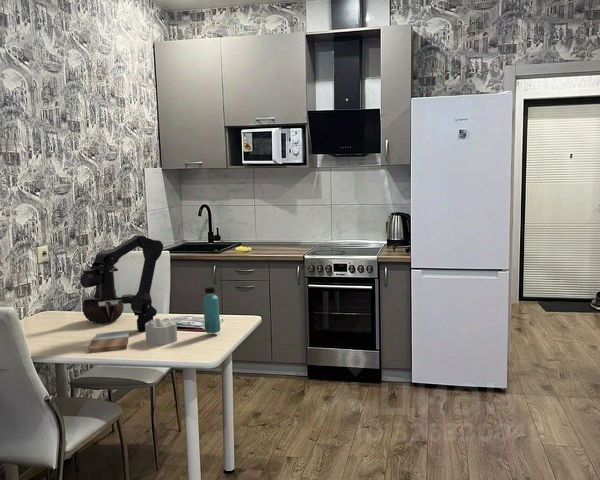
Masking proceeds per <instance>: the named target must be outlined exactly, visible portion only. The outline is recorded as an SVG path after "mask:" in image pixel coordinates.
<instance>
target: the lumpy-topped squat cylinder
mask: <svg viewBox="0 0 600 480" xmlns="http://www.w3.org/2000/svg"><path fill="white" fill-rule="evenodd" d="M177 329H178V327H177V322H176V321H172V320H171V319H170V318H169V317H165V318H163V319H161V318H159V317H158V318H155V319H153V320H150V321H149V322H147V323H146V324H145V330H146V331H145V341H146V344H149V345H152V346H159V347H160V346H167V345H169V344H172V343H176V342H178V333H177V332H178V330H177Z"/></svg>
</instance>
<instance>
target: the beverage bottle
mask: <svg viewBox="0 0 600 480" xmlns="http://www.w3.org/2000/svg"><path fill="white" fill-rule="evenodd" d="M204 293H205V294H206V295H204V297H202V300H203V301H202V304H203V306H202V307H203V317H204V318H203V320H204V321H203V322H204V332H205V333H207V334H216V333H219V332H221V323H220V322H221V320H220V318H221V317H220V307H219V306H220V305H219V296H218V295H216V294H215V293H216V289H215V286H207V287H205V288H204Z"/></svg>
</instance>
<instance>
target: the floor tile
mask: <svg viewBox="0 0 600 480" xmlns="http://www.w3.org/2000/svg"><path fill="white" fill-rule="evenodd" d="M129 336H130V330H120V331H109V332H108V331H107V332H100V333H99V332H97V333H96V334H95V336H94V338H93V340H100V339H110V338H121V337H128V338H129Z"/></svg>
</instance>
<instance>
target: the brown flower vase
mask: <svg viewBox="0 0 600 480" xmlns="http://www.w3.org/2000/svg"><path fill="white" fill-rule="evenodd" d="M99 267H101V266H99ZM98 288H100V285H98V286H95V292H94V294H93V296H92V297H95V299H101V296H99V295H98ZM116 297H118V295H116ZM106 301H107V300H106ZM107 304H108V311H109V315H110V304H111V303H107ZM124 306H125V304H124V303H122V302H118V306H117V307H115V308H114V311H113V314H112V319H111V321H110V322H109V321H108V319H107V317H106V315H105V313H104V311H103V310H102V309H101V308H99V304H93V305H92V306H91V307H83V306H82V313H83V315H84V317H85V318H86V319H87V321H89V322H91V323H93V324H99V325H104V324H105V325H106V324H109V323H110V324H111V323H114V322H115V321H117V320H118V319H119V318H120V317H121V315H122V314H123V312H124V308H125V307H124Z"/></svg>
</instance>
